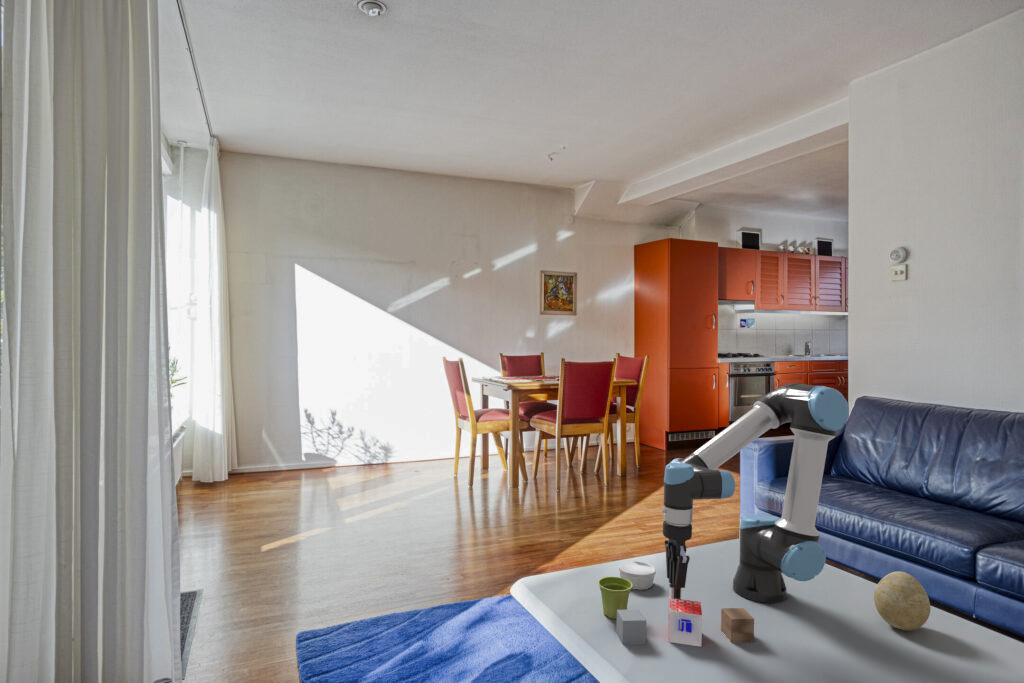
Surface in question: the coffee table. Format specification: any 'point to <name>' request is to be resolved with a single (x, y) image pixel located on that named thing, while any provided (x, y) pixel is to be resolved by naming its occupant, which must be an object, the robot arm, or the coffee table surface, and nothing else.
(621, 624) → the slate grey block
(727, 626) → the walnut block
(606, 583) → the plant pot
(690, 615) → the puzzle cube
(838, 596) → the coffee table surface
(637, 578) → the ramekin
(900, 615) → the fossilized egg
